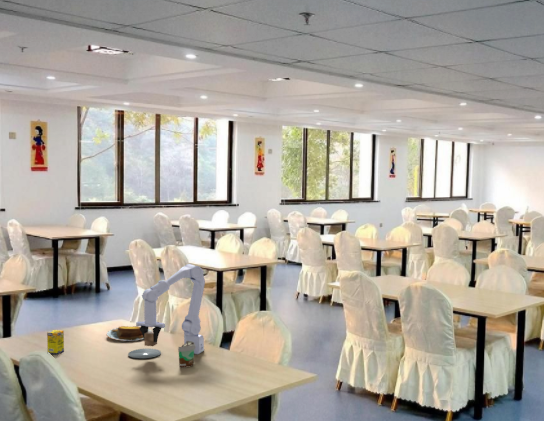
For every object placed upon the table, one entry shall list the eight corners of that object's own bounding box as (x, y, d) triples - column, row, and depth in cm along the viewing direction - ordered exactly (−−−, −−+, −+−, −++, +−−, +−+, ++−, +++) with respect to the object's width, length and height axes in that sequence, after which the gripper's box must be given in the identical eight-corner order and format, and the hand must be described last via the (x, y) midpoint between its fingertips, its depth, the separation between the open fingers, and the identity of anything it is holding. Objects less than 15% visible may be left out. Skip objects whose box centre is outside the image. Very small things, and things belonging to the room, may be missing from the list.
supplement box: (57, 354, 335) (57, 333, 334) (47, 354, 337) (46, 332, 336) (64, 351, 341) (63, 330, 340) (54, 350, 342) (53, 329, 342)
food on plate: (150, 330, 385) (150, 319, 385) (156, 341, 362) (156, 329, 361) (105, 333, 378) (104, 322, 377) (107, 344, 354) (107, 332, 354)
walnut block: (157, 343, 328) (157, 331, 328) (153, 346, 324) (152, 334, 324) (148, 343, 330) (148, 331, 329) (144, 345, 325) (144, 333, 325)
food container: (191, 369, 311) (190, 347, 310) (178, 368, 312) (178, 347, 311) (199, 361, 323) (198, 340, 322) (187, 360, 324) (186, 340, 323)
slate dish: (166, 351, 339) (166, 349, 339) (151, 360, 324) (151, 358, 324) (138, 349, 344) (138, 347, 344) (122, 358, 329) (122, 356, 329)
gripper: (132, 314, 324) (133, 342, 325) (160, 316, 320) (160, 344, 321) (139, 311, 331) (140, 338, 332) (166, 313, 327) (167, 340, 328)
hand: (150, 341), depth 327 cm, fingers closed on walnut block, 4 cm apart
